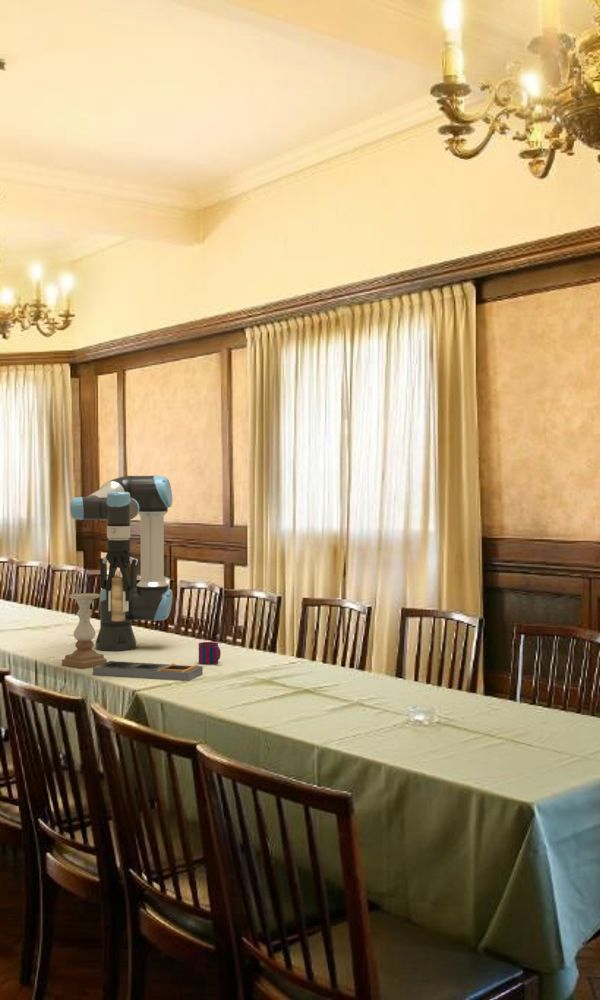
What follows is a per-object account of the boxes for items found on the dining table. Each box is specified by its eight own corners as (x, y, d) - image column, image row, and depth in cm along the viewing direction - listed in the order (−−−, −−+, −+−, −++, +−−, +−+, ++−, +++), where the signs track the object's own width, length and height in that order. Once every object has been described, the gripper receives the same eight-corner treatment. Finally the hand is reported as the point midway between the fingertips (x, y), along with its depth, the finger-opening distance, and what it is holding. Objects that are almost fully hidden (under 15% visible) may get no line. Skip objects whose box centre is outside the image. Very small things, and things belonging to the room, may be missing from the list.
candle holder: (82, 668, 335) (82, 597, 335) (61, 665, 342) (61, 594, 342) (107, 664, 344) (107, 594, 344) (86, 661, 351) (86, 592, 350)
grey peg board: (109, 668, 336) (109, 660, 336) (202, 674, 327) (202, 665, 327) (92, 674, 324) (92, 666, 324) (188, 680, 315) (188, 671, 315)
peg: (115, 619, 331) (115, 576, 331) (127, 619, 330) (127, 577, 330) (109, 621, 327) (109, 577, 327) (121, 621, 326) (121, 578, 325)
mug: (212, 660, 352) (212, 641, 352) (226, 665, 344) (226, 645, 344) (195, 662, 349) (195, 642, 349) (208, 666, 340) (209, 646, 340)
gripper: (88, 539, 327) (88, 611, 327) (138, 540, 322) (138, 613, 322) (99, 538, 334) (99, 608, 334) (148, 539, 329) (147, 610, 330)
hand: (118, 610), depth 328 cm, fingers closed on peg, 4 cm apart
